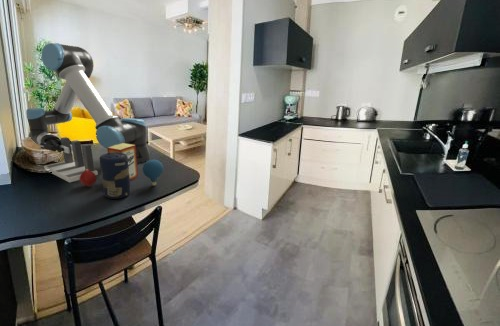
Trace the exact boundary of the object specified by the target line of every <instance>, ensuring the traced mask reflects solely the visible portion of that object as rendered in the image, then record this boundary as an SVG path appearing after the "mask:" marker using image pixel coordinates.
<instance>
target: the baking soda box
mask: <svg viewBox="0 0 500 326" xmlns="http://www.w3.org/2000/svg"><path fill="white" fill-rule="evenodd" d="M106 150H107V153H110V152H120V153H124V154H126V155H127V157H128V167H129V176H130V181H132V180H134V179H136V178H138V177H139V172H138V163H137V157H136V145H133V144H127V143H122V144H118V145H114V146H111V147H108V148H106ZM137 176H138V177H137ZM135 177H136V178H135Z"/></svg>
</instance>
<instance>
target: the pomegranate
mask: <svg viewBox="0 0 500 326" xmlns="http://www.w3.org/2000/svg"><path fill="white" fill-rule="evenodd" d="M96 181H97V175H95V174H94V173H93V172H92V171H90V170H88V169H85V171H84V172H83V173H82V174H81V176H80V180H79V182H80V183H81V184H82V185H83V186H86V187H88V188H89V187H91V186H93V185H94V184H95V183H96Z"/></svg>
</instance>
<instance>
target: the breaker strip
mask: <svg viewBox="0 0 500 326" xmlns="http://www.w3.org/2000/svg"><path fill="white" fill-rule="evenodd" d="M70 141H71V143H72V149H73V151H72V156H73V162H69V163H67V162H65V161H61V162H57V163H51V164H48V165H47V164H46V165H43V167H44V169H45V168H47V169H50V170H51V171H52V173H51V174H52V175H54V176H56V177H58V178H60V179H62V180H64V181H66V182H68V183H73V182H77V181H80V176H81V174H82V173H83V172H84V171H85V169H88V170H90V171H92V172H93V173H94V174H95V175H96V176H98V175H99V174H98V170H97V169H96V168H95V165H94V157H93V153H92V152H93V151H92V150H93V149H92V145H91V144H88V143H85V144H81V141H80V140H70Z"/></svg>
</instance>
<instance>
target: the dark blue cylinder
mask: <svg viewBox="0 0 500 326" xmlns="http://www.w3.org/2000/svg"><path fill="white" fill-rule="evenodd" d="M99 165H100V172H101V173H100V174H101V179H102V180H101V181H102V188H103V194H104V197H106V198H108V199H112V200H115V199H116V200H117V199H122V198H125V197H127V196H129V195H130V193H131V180H130V176H129V167H128V157H127V155H126V154H124V153H120V152H110V153H108V152H106V153H103V154H102V155H100V156H99Z"/></svg>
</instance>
